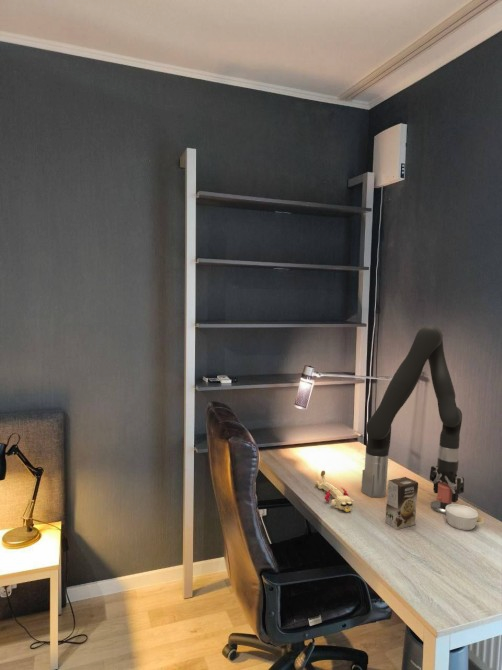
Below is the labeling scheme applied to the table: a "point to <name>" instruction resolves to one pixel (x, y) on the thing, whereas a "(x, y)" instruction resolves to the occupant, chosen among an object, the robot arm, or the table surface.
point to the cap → (444, 493)
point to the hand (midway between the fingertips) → (445, 497)
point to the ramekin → (461, 516)
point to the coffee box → (401, 502)
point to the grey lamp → (439, 506)
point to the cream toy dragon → (335, 495)
